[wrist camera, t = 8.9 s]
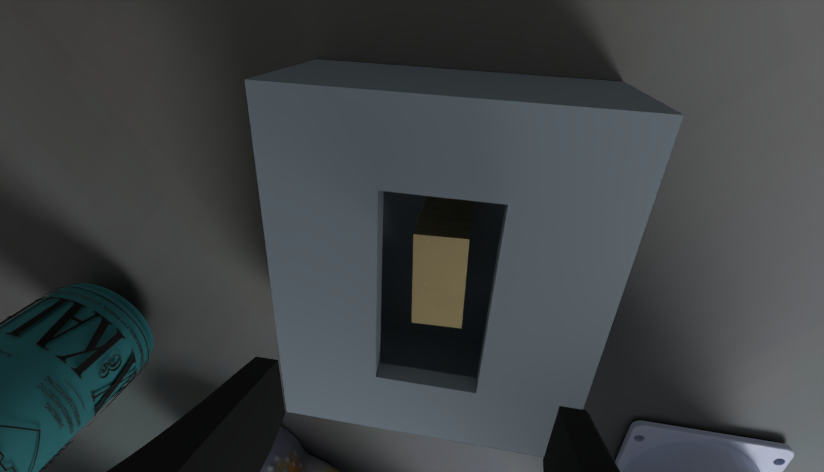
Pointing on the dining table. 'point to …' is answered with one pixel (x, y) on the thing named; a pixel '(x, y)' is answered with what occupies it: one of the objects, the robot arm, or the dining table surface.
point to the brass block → (441, 261)
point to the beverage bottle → (64, 368)
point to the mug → (292, 456)
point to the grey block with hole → (488, 249)
